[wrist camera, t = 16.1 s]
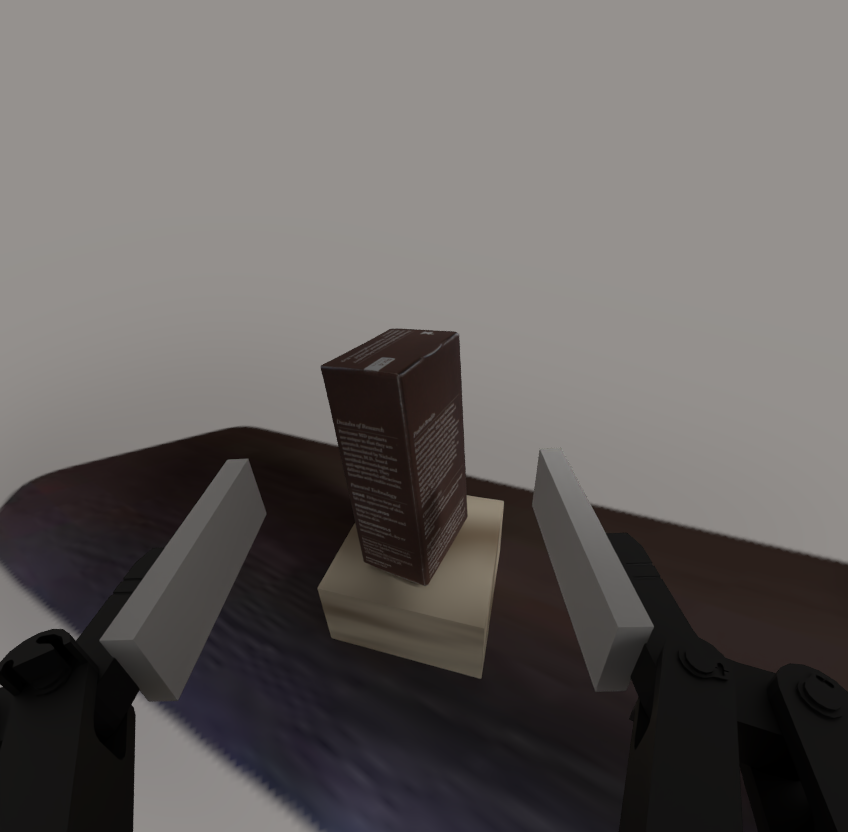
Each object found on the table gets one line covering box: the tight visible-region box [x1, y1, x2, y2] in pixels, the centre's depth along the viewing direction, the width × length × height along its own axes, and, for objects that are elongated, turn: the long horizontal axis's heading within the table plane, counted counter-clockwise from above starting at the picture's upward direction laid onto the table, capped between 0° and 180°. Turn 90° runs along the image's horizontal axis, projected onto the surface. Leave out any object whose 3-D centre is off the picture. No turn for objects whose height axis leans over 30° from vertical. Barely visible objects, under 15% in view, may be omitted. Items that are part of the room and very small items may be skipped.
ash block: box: [317, 496, 504, 679], centre depth 25 cm, size 9×9×5 cm
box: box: [321, 329, 468, 586], centre depth 21 cm, size 6×4×12 cm
